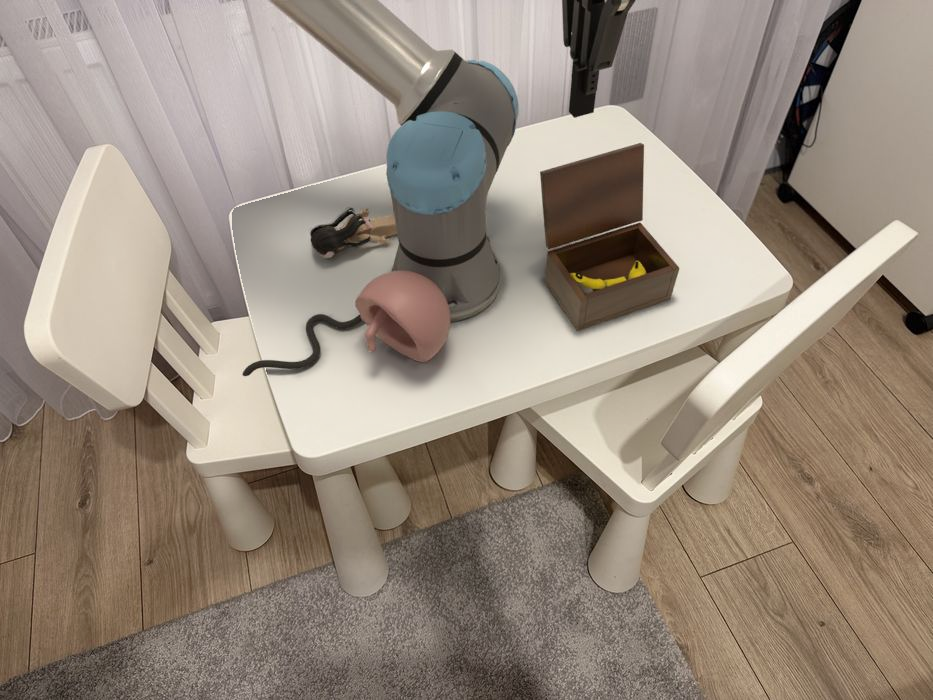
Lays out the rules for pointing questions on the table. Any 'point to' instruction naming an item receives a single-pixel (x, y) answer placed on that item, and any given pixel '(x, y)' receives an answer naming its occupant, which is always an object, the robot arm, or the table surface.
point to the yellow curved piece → (596, 284)
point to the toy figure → (351, 232)
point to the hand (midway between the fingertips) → (581, 111)
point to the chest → (610, 275)
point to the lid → (592, 195)
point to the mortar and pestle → (405, 314)
